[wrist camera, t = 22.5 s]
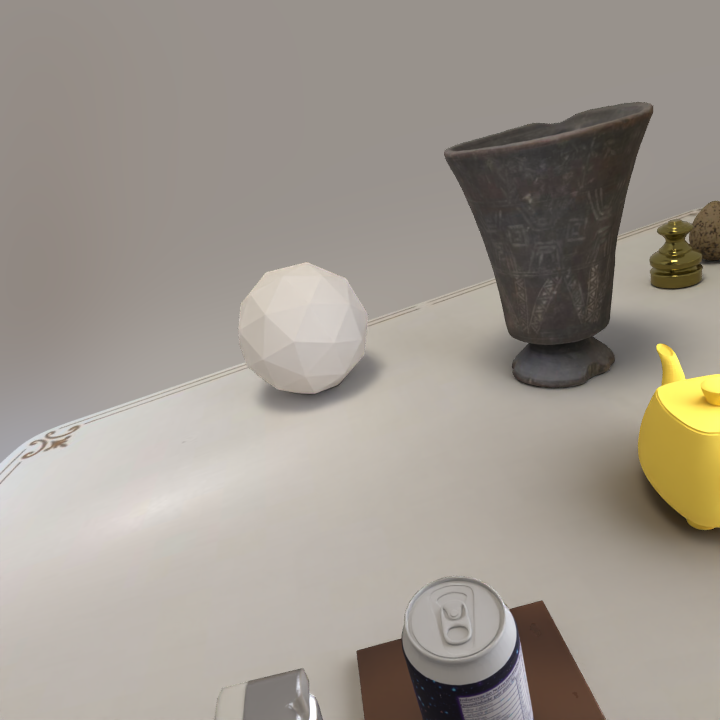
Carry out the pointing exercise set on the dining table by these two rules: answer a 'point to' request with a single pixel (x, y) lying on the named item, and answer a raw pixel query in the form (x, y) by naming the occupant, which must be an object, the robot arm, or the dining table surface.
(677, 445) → the teapot
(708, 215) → the decorative egg
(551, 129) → the vase
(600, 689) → the dining table surface
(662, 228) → the gold tiered tapered piece
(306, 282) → the ball
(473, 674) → the beverage can
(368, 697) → the walnut board
